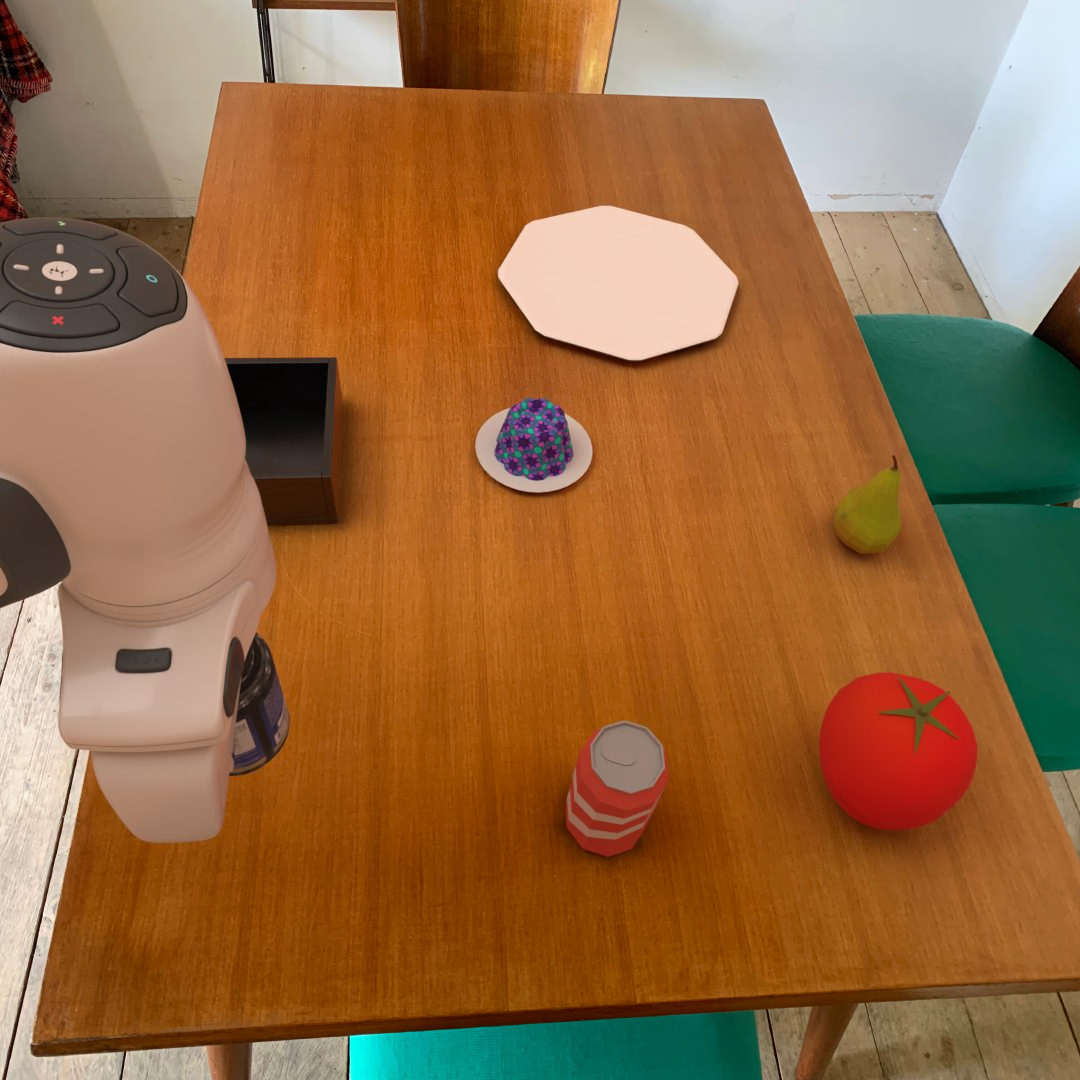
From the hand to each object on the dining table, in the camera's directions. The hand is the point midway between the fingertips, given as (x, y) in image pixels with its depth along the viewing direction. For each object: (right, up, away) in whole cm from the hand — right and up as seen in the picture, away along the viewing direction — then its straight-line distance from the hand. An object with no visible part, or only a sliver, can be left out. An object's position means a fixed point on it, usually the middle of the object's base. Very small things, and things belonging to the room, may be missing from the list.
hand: (227, 700), depth 53 cm
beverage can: (+23, -13, +19) cm, 32 cm away
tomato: (+44, -11, +22) cm, 51 cm away
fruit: (+49, +9, +38) cm, 63 cm away
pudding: (+17, +18, +42) cm, 49 cm away
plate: (+27, +40, +59) cm, 76 cm away
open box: (-9, +17, +38) cm, 42 cm away
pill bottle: (0, -3, +3) cm, 4 cm away
